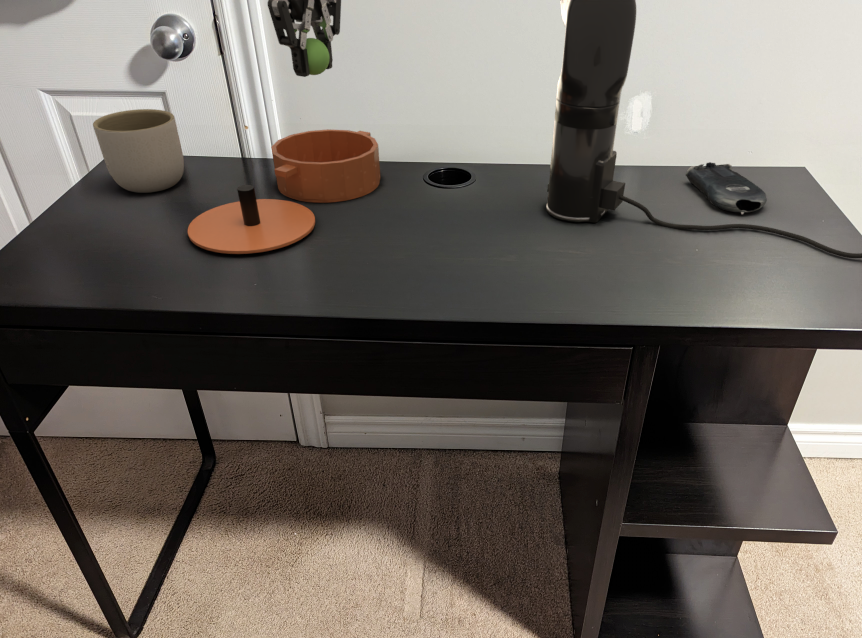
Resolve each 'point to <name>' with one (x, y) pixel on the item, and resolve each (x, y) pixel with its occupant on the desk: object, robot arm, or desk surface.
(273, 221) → the lid
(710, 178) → the electronic device
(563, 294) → the desk surface
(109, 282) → the desk surface
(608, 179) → the robot arm
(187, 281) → the desk surface
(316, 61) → the ball
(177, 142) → the planter
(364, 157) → the pan
